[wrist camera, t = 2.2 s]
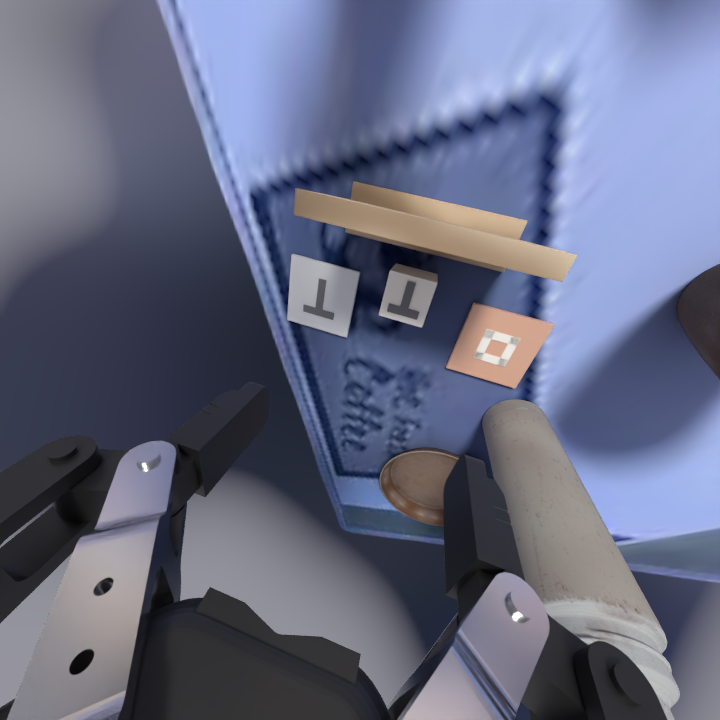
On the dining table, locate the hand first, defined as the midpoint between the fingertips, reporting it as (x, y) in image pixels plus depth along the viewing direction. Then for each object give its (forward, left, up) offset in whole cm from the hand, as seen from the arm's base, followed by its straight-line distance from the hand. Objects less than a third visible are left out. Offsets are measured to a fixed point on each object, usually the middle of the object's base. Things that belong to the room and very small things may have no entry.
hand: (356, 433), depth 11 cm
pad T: (+4, -11, -26) cm, 28 cm away
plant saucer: (+30, +13, -26) cm, 42 cm away
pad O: (+4, +12, -26) cm, 29 cm away
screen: (-7, 0, -26) cm, 27 cm away
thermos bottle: (+14, +19, -26) cm, 35 cm away
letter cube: (0, 0, -26) cm, 26 cm away
